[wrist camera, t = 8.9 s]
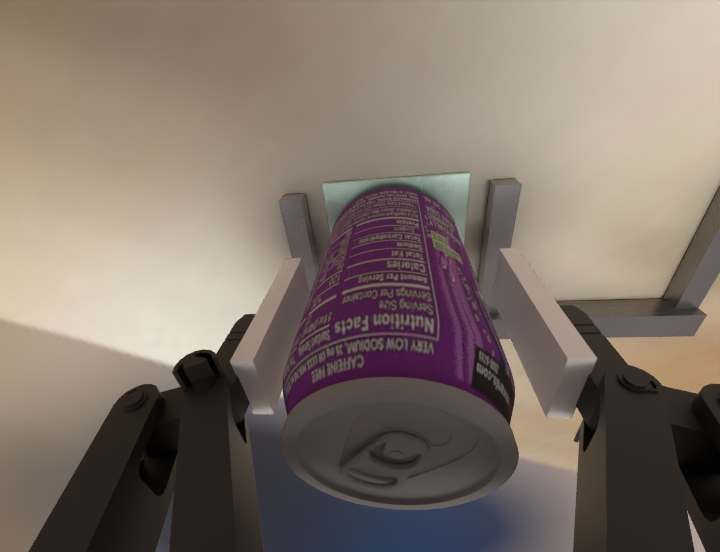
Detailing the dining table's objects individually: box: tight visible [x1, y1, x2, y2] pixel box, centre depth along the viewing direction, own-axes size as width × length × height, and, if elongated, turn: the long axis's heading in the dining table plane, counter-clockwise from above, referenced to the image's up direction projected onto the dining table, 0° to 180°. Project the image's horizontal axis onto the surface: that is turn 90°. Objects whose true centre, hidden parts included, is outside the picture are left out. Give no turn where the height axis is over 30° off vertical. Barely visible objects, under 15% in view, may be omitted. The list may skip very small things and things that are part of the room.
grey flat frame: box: [279, 172, 720, 339], centre depth 18 cm, size 10×23×2 cm, turn 96°
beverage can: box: [280, 188, 519, 510], centre depth 13 cm, size 7×7×12 cm
